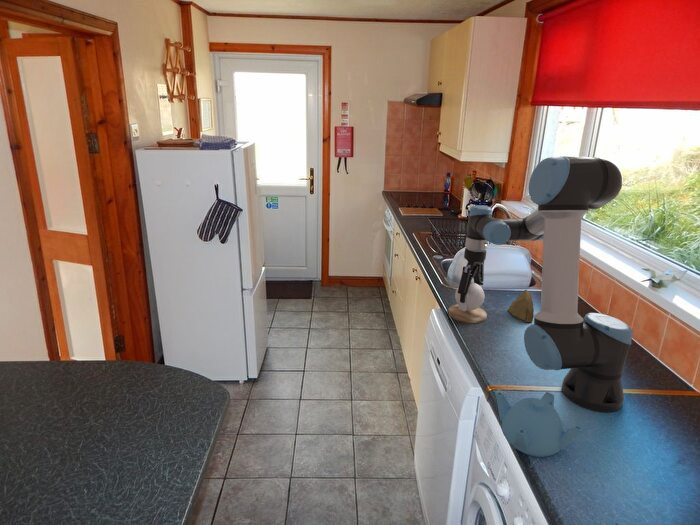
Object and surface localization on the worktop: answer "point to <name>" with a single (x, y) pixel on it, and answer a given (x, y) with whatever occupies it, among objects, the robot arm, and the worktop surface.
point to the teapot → (534, 425)
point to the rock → (523, 307)
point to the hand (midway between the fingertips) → (468, 305)
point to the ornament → (472, 296)
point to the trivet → (467, 314)
